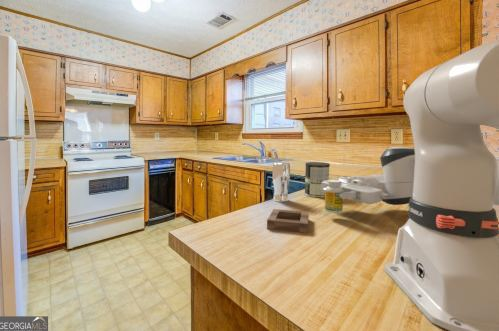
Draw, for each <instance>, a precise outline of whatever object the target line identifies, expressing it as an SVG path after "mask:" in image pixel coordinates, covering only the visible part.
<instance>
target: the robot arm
mask: <svg viewBox="0 0 499 331" xmlns="http://www.w3.org/2000/svg"><path fill="white" fill-rule="evenodd" d="M402 102H403V103H402V104H403V109H404V111H405V112H406V114H407V116H408V117H409V122H410V129H411V135H412V140H413V147H409V146H393V147H388V148H386V149H385V150H384V152H383V153H382V154H381V156H380V158H379V159H380V164H381V168H382V172H383V173H378V174H377V173H375V174H371V175H356V176H343V175H342V176H339V178H331V179H330V178H329V180H339V181H341V186H340V187H341V188H342V189H343V192H339V198H342V199H343V200H345V199H347V200H348V199H349V200H353V201H354V202H356V203H359V204H360V203H363V204H368V205H374V204H377V203H381V202H384V203H386V204H387V205H392V206H403V205H407V209H408V210H407V216H408V219H407V221H406V222H405V223H404V225H402V226H401V227H399V228H398V231H397V235H396V241H395V242H396V243H395V249H394V250H395V251H394V256H393V260H392V261H390V262H387V263H385V265H384V271H385V272H386V274H388V276H390V278H391V280H393V282H395V284H396V285H398V287H399V289H401V290H402V291H403V293H404V294H405V295H406V296H407V297H408V298H409V299H410V300H411V302H413V303H414V305H416V307H417V308H418V310H420V311H421V312H422V314H423V315H424V316H425V317H426V318H427V319H428V320H429V321H430V322H431V323H432V324H434V325H436V326H438V327H440V328H443V329H445V330H448V331H499V218H498V216H497V210H496V209H495V208H494V206H499V159H497V158H496V156H495V155H494V154H493V153H492V152H491V151H490V150H489V148H488V147H487V145H486V142H485V141H484V137H483V134H482V129H481V126H484V127H489V128H490V127H491V128H494V129H497V130H499V40H496V41H492V42H488V43H484V44H479V45H478V46H475V47H473V48H471V49H470V50H467V51H466V52H463V53H461V54H459V55H457V56H455V57H453V58H451V59H449V60H446V61H444V62H443V63H440V64H438V65H436V66H434V67H432V68H430V69H428V70H426V71H424V72H423V73H421V74H419V76H417V77H416V79H414V81H413V82H411V84H410V85H409V87H408V88H407V89H406V91H405V93H404V96H403V100H402ZM328 186H329V185H328V180H325V181H323V182H322V184H321V191H322V193H324V194H325V189H326V187H328Z"/></svg>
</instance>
